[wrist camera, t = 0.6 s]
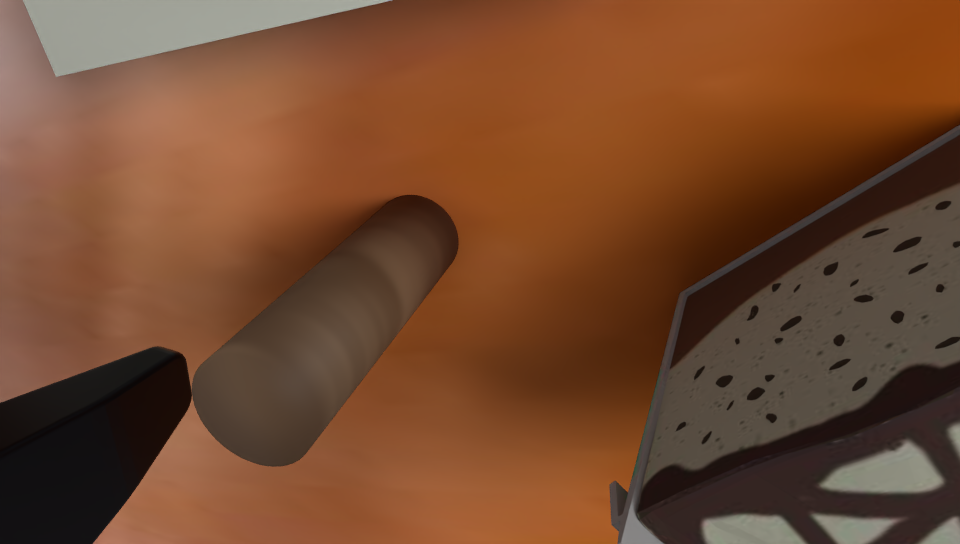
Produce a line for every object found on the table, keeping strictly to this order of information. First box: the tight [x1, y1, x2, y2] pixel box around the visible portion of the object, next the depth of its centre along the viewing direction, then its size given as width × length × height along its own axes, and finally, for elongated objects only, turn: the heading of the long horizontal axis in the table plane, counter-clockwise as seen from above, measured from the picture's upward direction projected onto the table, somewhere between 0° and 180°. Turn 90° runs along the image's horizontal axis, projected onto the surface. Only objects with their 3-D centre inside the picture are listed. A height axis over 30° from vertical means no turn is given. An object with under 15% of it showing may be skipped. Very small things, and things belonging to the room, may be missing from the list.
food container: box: [610, 125, 960, 544], centre depth 16 cm, size 12×6×10 cm, turn 134°
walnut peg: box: [192, 195, 458, 467], centre depth 20 cm, size 3×3×10 cm
